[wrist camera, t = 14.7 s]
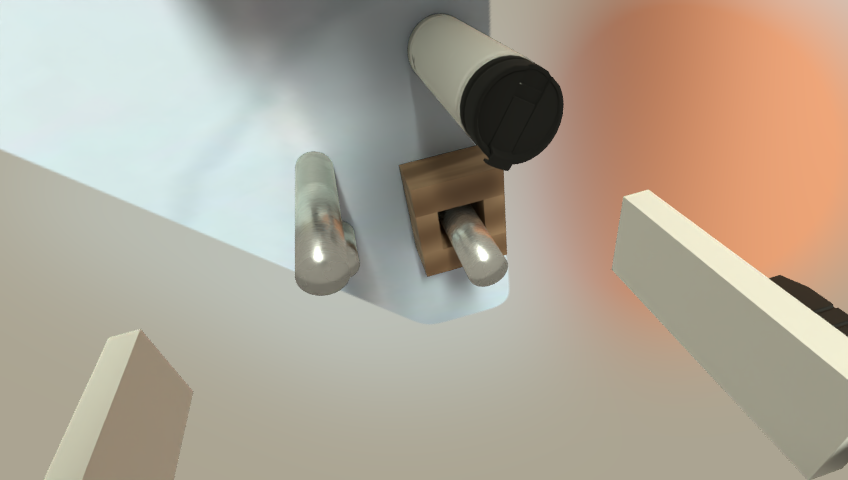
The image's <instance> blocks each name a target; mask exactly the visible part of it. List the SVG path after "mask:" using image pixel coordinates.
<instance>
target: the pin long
mask: <svg viewBox="0 0 848 480" xmlns="http://www.w3.org/2000/svg"><path fill="white" fill-rule="evenodd" d="M349 278H350V267H349V261H348V255H347V248H346V242H345V236H344V230H343V223H342V217H341V211H340V205H339V198H338V192H337V186H336V180H335V173H334V167H333V163H332V161H331V160H330V158H329V157H328V156H326V155H325V154H323V153H320V152H315V151H313V152H307V153H305V154H303V155H302V156H300V157H299V158H298V160H297V162H296V165H295V279H296V283H297V284H298V286H299V287H300V288H301V289H302V290H303V291H305V292H307V293H309V294H312V295H319V296H323V295H330V294H333V293H336V292H338V291H339V290H341V289H342V288H343V287H344V286H345V285H346V284H347V283H348V281H349Z"/></svg>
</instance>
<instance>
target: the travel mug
mask: <svg viewBox="0 0 848 480" xmlns="http://www.w3.org/2000/svg"><path fill="white" fill-rule="evenodd" d="M407 51H408V59H409V62H410V65H411V67H412V69H413V70H414V72H415V73H416V74H417V75H418V77H419V78H420V79H421V80H422V81H423V83H424V84H425V85H426V86H427V87H428V89H429V90H430V91H431V92H432V93H433V95H434V96H435V97H436V98H437V99H438V100H439V102H440V103H441V104H442V105H443V106H444V108H445V109H446V110H447V111H448V112H449V114H450V115H451V116H452V117H453V118H454V120H455V121H456V122H457V123H458V124H459V126H460V127H461V128H462V129H463V130H464V132H465V133H466V134H467V135H468V136H469V137H470V138H471V139H472V140H473V141H474V142H475V143H476V145H477V146H478V147H479V148H480V149H481V150H482V152H483V153H484V154H485V155H486V156H487V157H488V158H489V159H486V158H484V160H483V161H484V162H485V163H486V164H488V165H489V166H492V167H495V168H497V169H501V170H505V171H508V170H509V169H510V168H511V166H512V164H519V163H523V162H526V161H528V160H530V159H532V158H534V157H535V156H537V155H538V154H540V153H541V152H542V151H543V150H544V149H545V148H546V147H547V146H548V144H549V143H550V142H551V141H552V139H553V138H554V136H555V134H556V133H557V130H558V128H559V126H560V123H561V119H562V114H563V96H562V91H561V88H560V86H559V85H558V83H557V82H556V81H555V80H554V78H553V77H551V76H550V74H549V72H548V71H547V70H545V69H544V68H542V67H540V66H539V65H537V64H535V63H534V62H533V61H531V60H530V59H528V58H527V57H525V56H523V55H521V54H519V53H518V52H516V51H514V50H512V49H510V48H508V47H507V46H505V45H503V44H501V43H500V42H498V41H496V40H494V39H492V38H491V37H489V36H487V35H485V34H483V33H482V32H480V31H478V30H476V29H474V28H473V27H471V26H469V25H467V24H465V23H464V22H462V21H460V20H458V19H456V18H455V17H453V16H450V15H447V14H434V15H431V16H428V17H426V18H425V19H423V20H422V21H421V22H420V23H419V24H417V26H416V27H415V28H414V30H413V32H412V34H411V36H410V38H409V42H408V50H407Z"/></svg>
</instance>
